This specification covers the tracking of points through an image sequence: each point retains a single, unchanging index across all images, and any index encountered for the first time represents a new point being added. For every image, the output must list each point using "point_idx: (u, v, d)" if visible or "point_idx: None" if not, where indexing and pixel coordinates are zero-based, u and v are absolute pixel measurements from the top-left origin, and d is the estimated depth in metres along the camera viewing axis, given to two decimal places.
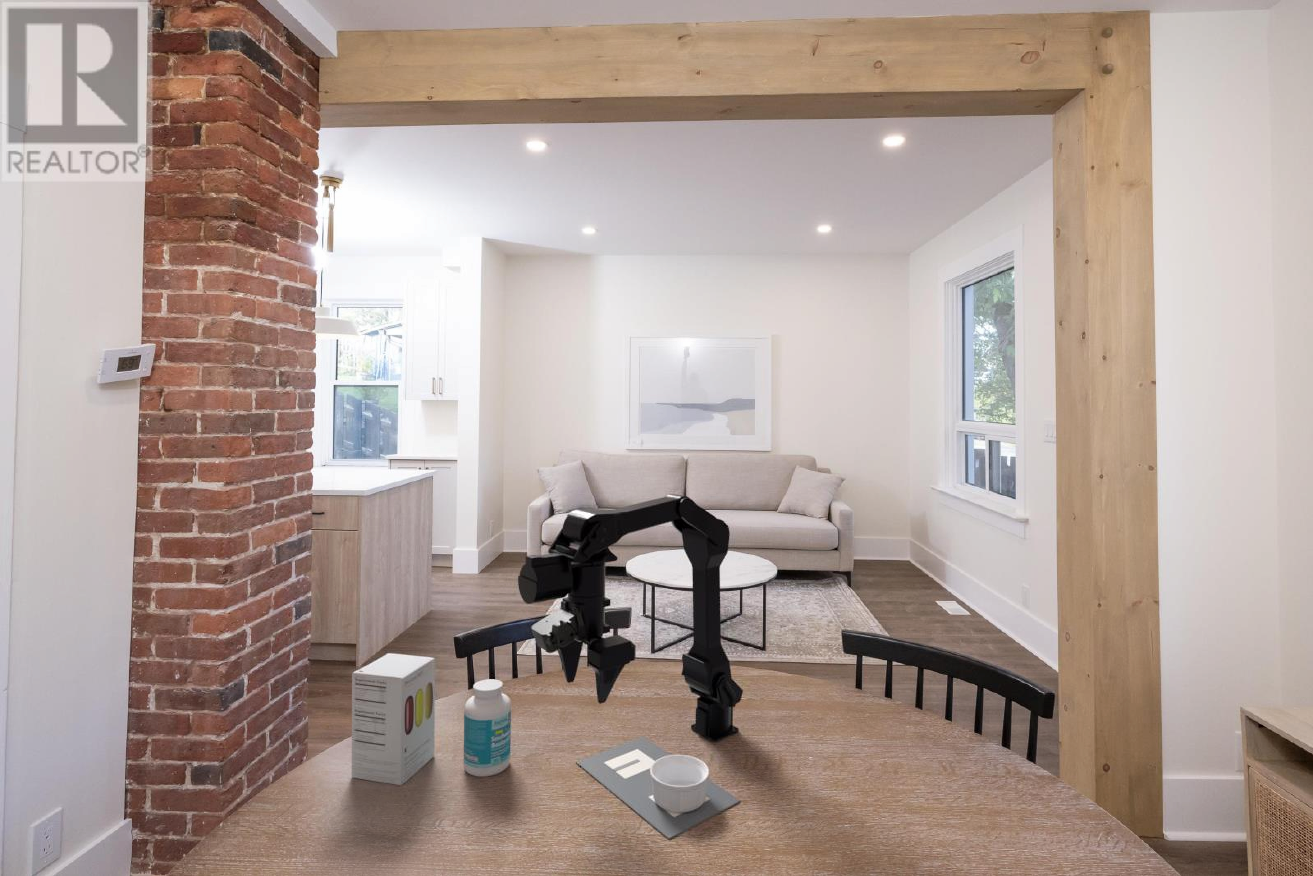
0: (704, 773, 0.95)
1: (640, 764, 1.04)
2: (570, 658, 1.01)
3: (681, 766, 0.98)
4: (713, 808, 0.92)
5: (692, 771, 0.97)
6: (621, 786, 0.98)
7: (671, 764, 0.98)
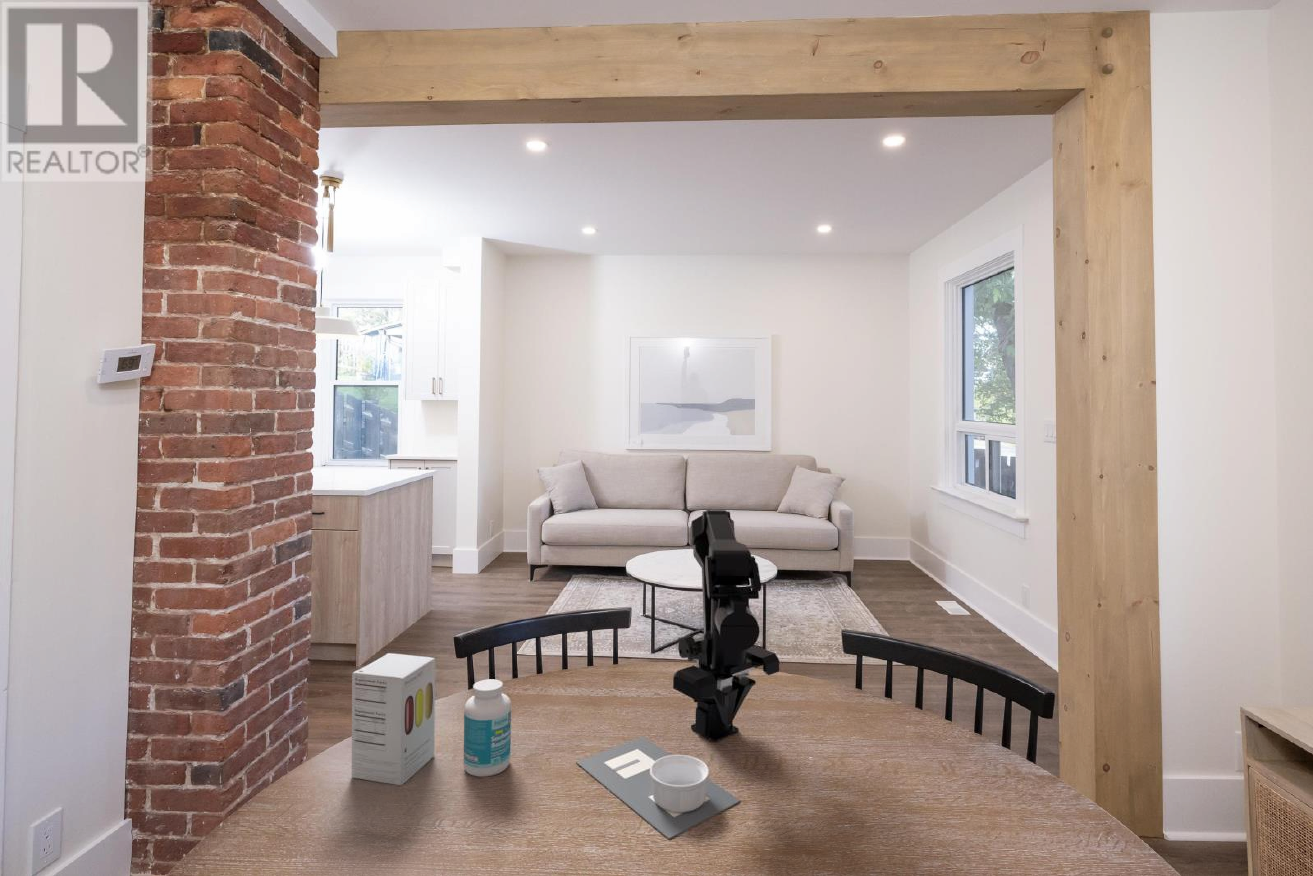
0: (704, 773, 0.95)
1: (640, 764, 1.04)
2: None
3: (681, 766, 0.98)
4: (713, 808, 0.92)
5: (692, 771, 0.97)
6: (621, 786, 0.98)
7: (671, 764, 0.98)
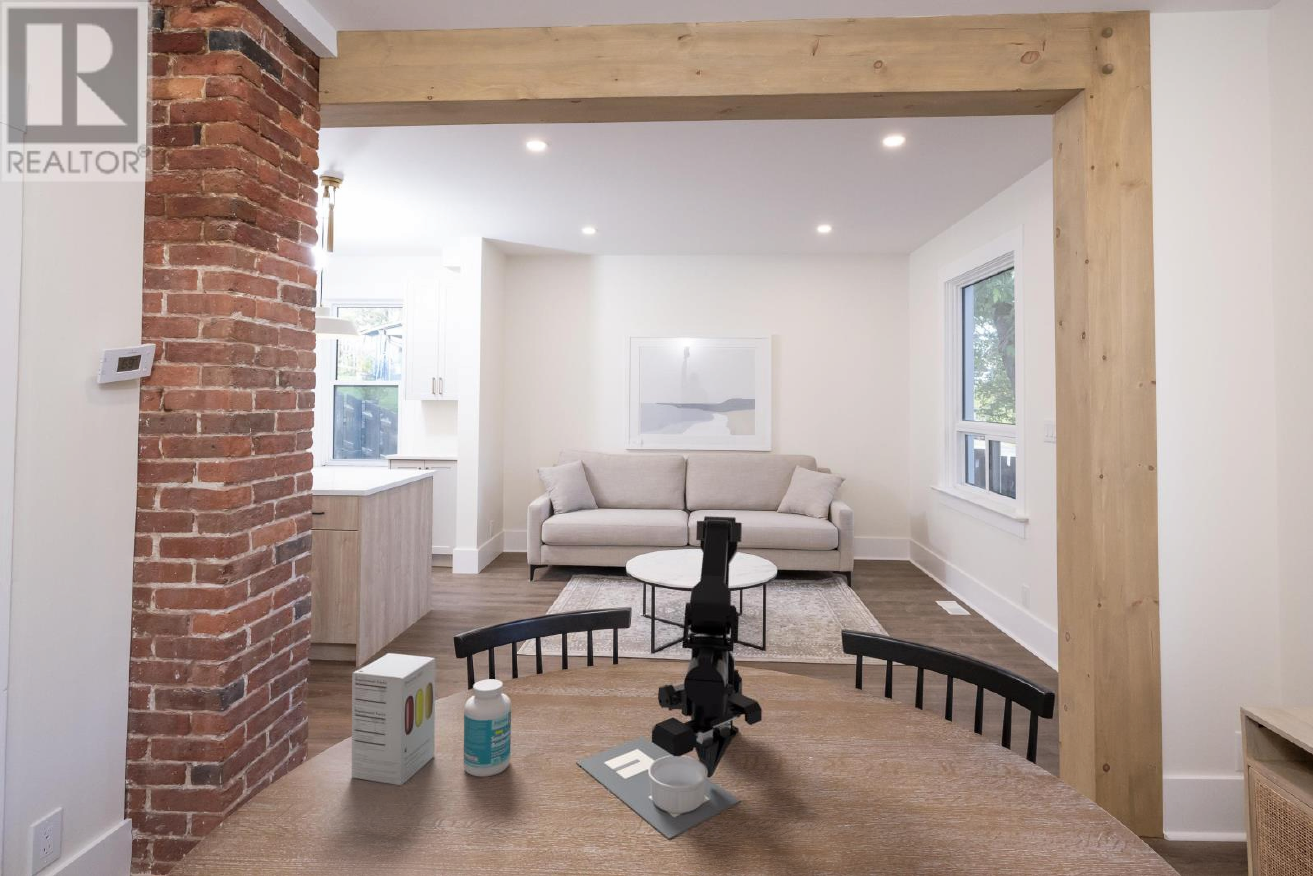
0: (702, 773, 0.95)
1: (640, 764, 1.04)
2: None
3: (679, 767, 0.98)
4: (713, 808, 0.92)
5: (690, 772, 0.97)
6: (621, 786, 0.98)
7: (669, 765, 0.98)
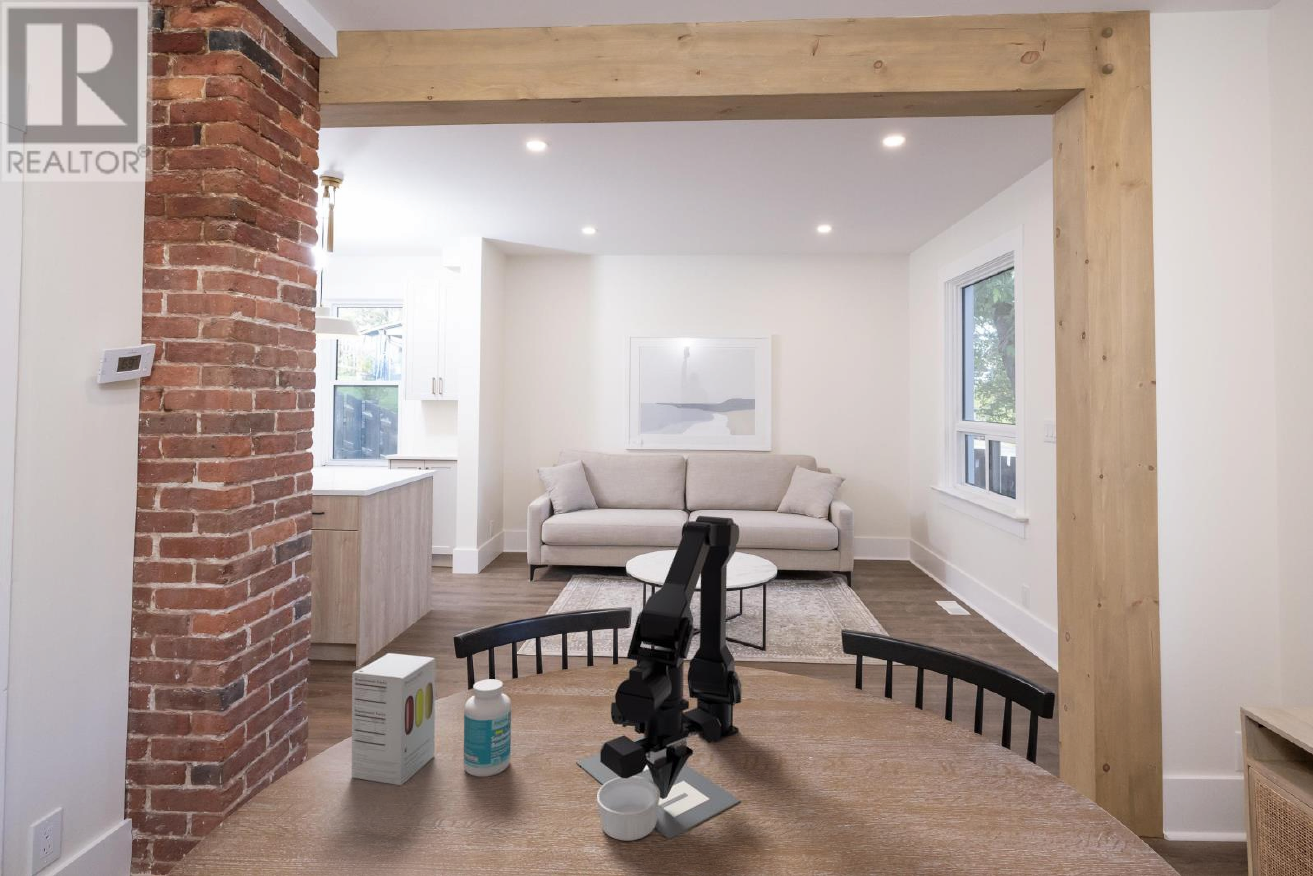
0: (655, 796, 0.89)
1: None
2: None
3: (632, 788, 0.92)
4: (713, 808, 0.92)
5: (643, 794, 0.92)
6: None
7: (621, 787, 0.92)
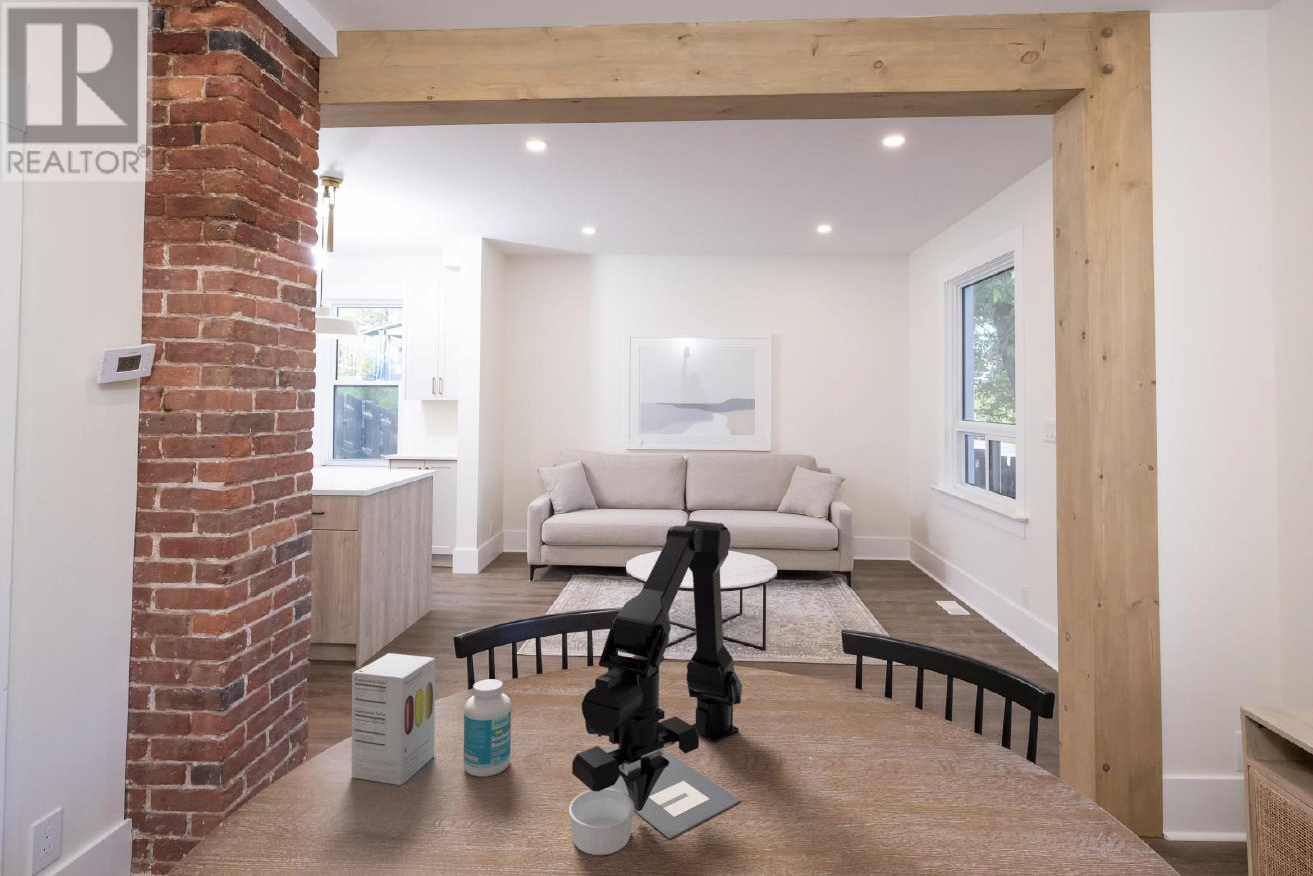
0: (629, 809, 0.86)
1: None
2: None
3: (606, 801, 0.89)
4: (713, 808, 0.92)
5: (617, 807, 0.89)
6: (621, 786, 0.98)
7: (595, 799, 0.89)
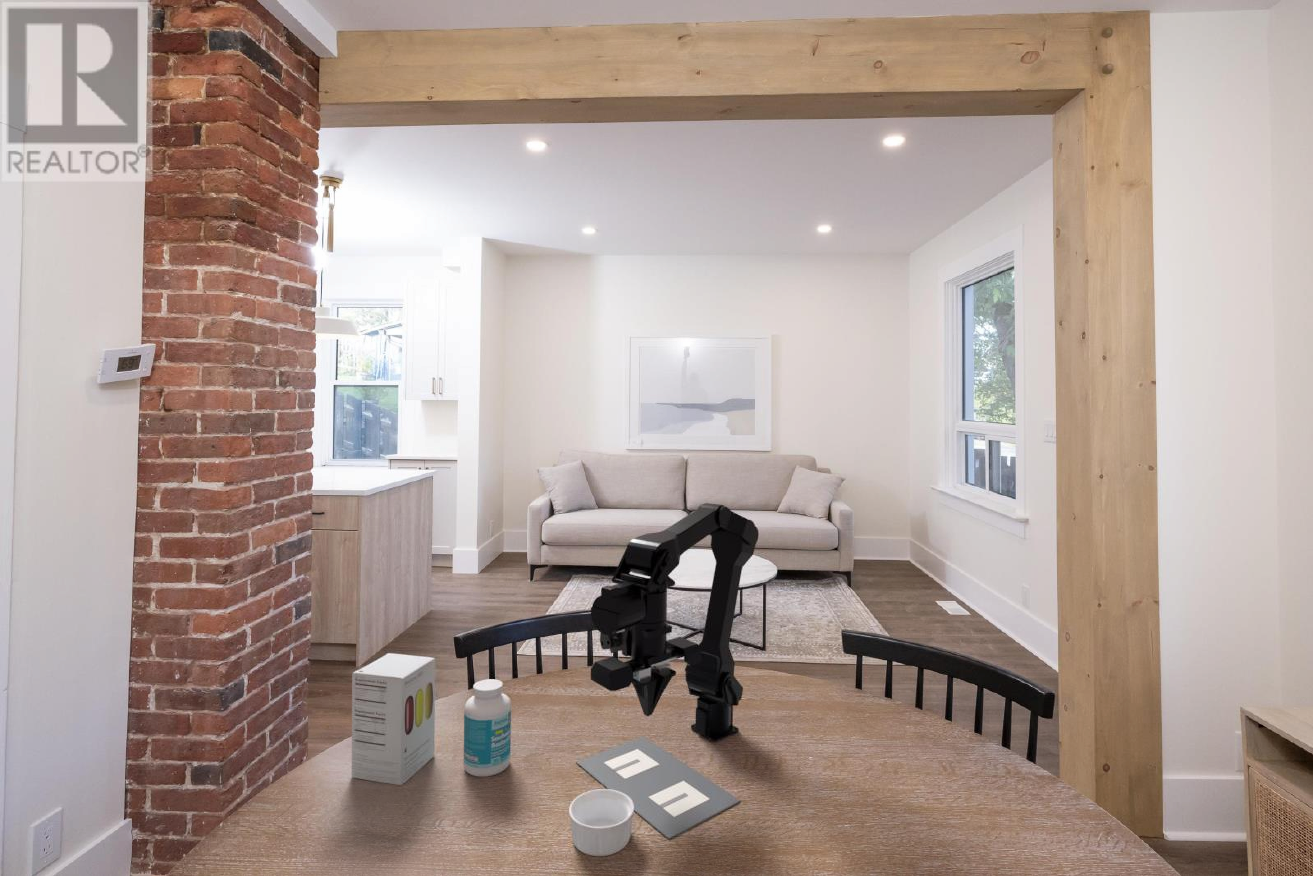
0: (629, 810, 0.86)
1: (640, 764, 1.04)
2: None
3: (606, 802, 0.89)
4: (713, 808, 0.92)
5: (617, 808, 0.89)
6: (621, 786, 0.98)
7: (595, 800, 0.89)
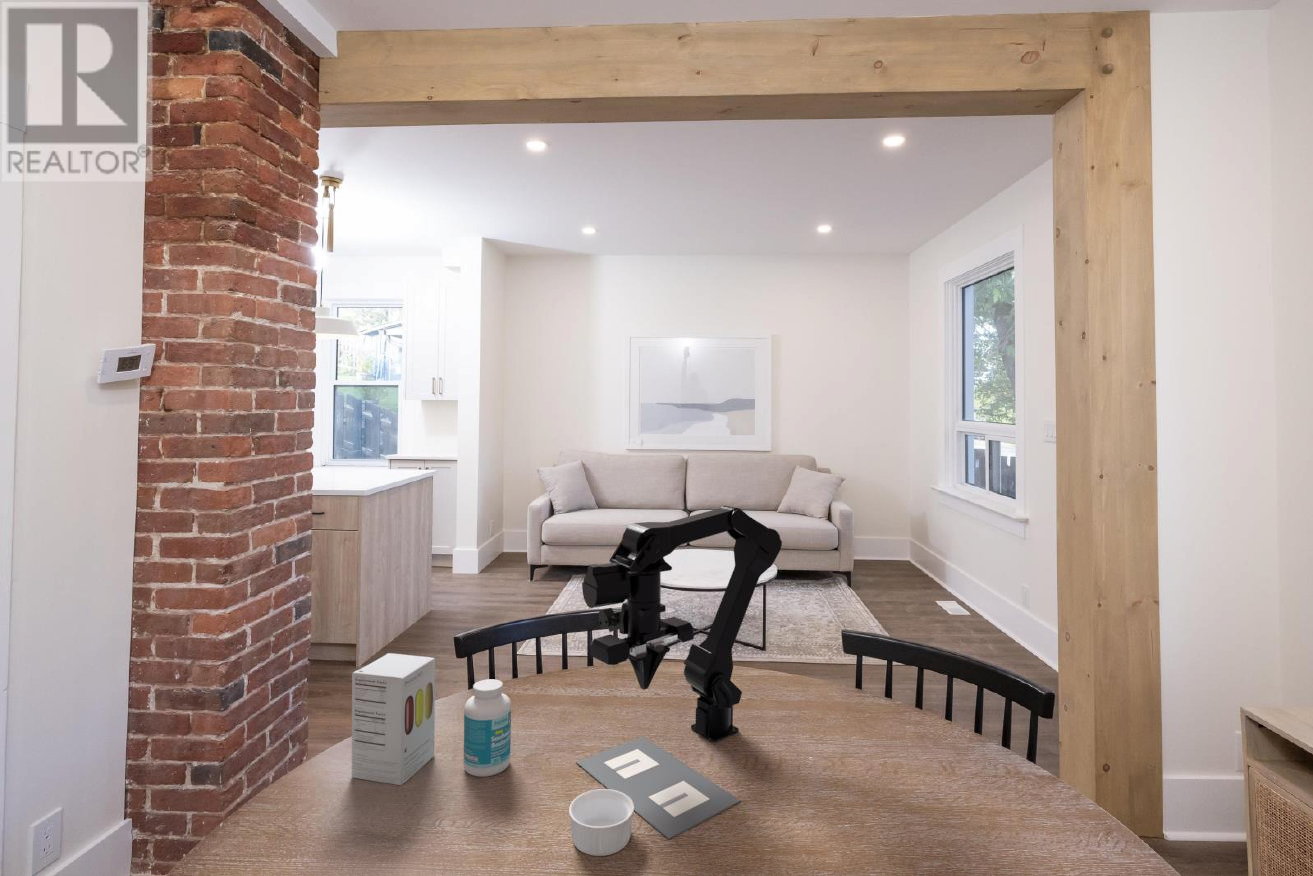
0: (629, 810, 0.86)
1: (640, 764, 1.04)
2: None
3: (606, 802, 0.89)
4: (713, 808, 0.92)
5: (617, 808, 0.89)
6: (621, 786, 0.98)
7: (595, 800, 0.89)
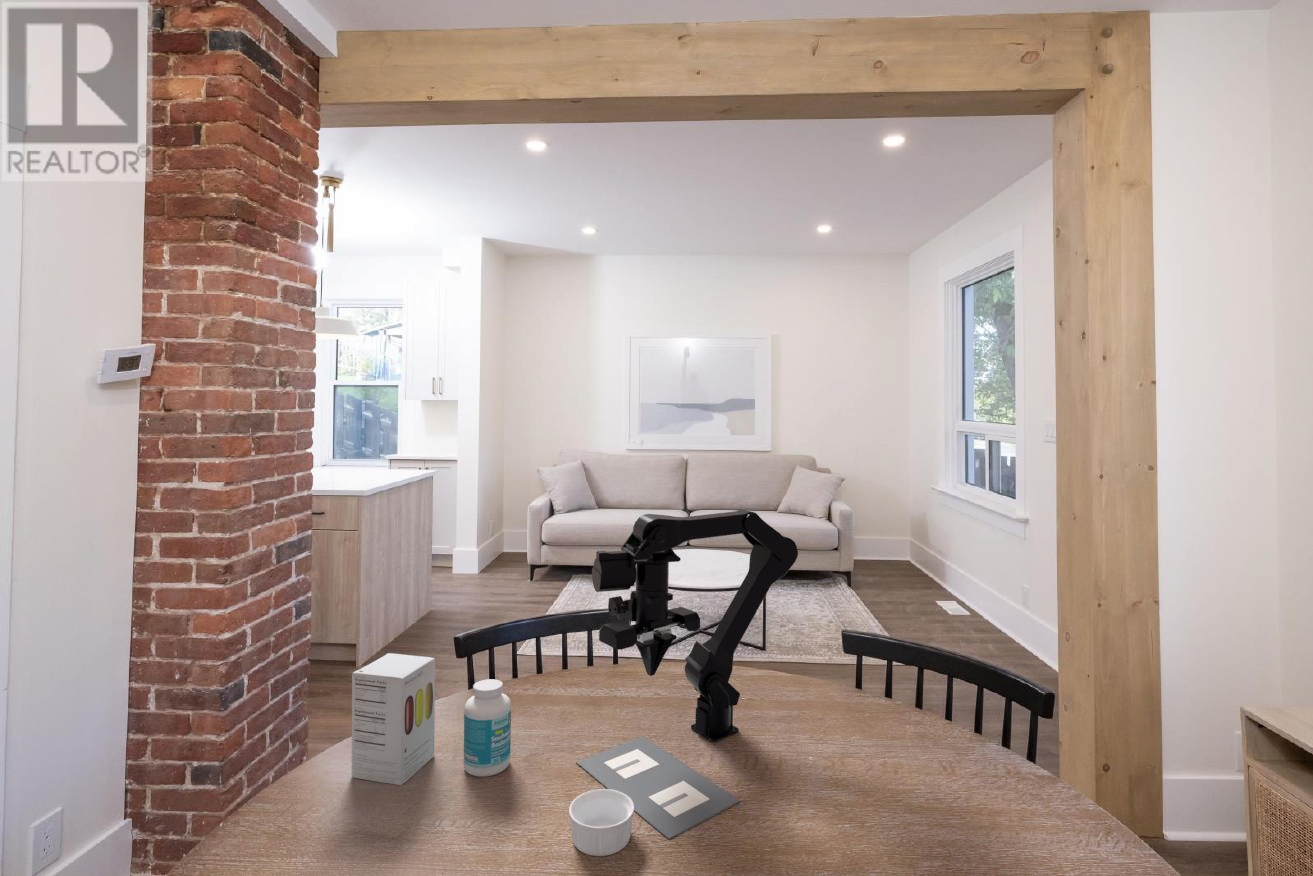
0: (629, 811, 0.86)
1: (640, 764, 1.04)
2: None
3: (606, 802, 0.89)
4: (713, 808, 0.92)
5: (618, 808, 0.89)
6: (621, 786, 0.98)
7: (595, 800, 0.89)
